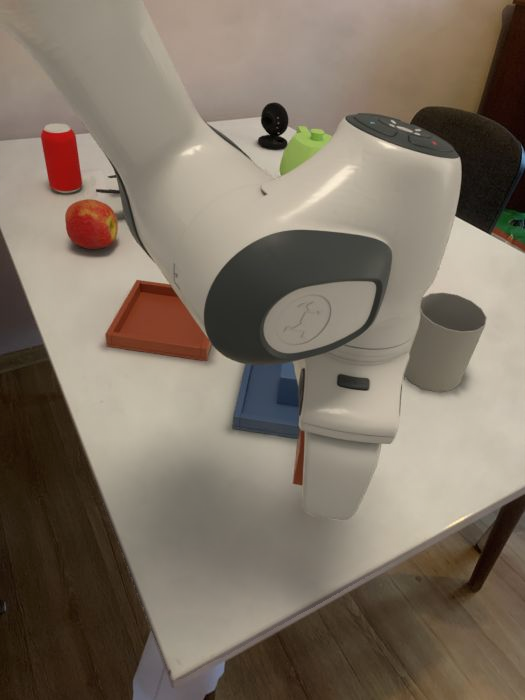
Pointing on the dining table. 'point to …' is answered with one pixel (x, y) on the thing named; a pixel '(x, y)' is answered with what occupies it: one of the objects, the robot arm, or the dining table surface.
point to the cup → (444, 341)
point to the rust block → (299, 459)
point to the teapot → (302, 147)
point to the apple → (91, 224)
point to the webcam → (274, 126)
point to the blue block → (288, 386)
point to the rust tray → (157, 324)
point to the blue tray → (264, 403)
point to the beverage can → (61, 158)
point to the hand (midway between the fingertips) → (320, 457)
